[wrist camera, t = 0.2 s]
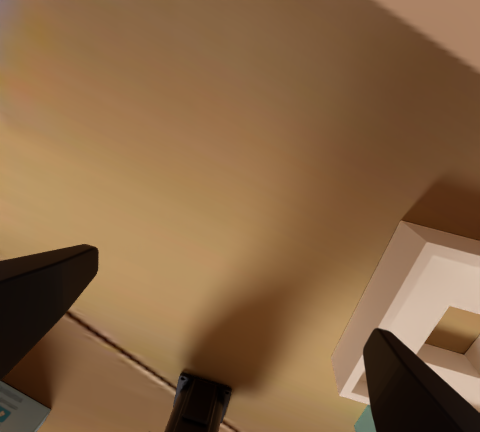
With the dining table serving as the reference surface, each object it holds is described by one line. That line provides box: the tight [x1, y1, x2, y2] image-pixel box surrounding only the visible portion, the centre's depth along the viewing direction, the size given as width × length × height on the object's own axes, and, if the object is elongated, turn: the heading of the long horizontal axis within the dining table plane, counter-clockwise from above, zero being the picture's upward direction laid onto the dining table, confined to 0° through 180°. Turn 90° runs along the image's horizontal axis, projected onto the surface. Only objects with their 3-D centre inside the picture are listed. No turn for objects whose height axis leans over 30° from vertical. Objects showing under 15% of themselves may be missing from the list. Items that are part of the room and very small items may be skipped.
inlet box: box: [331, 220, 480, 412], centre depth 21 cm, size 16×16×4 cm
